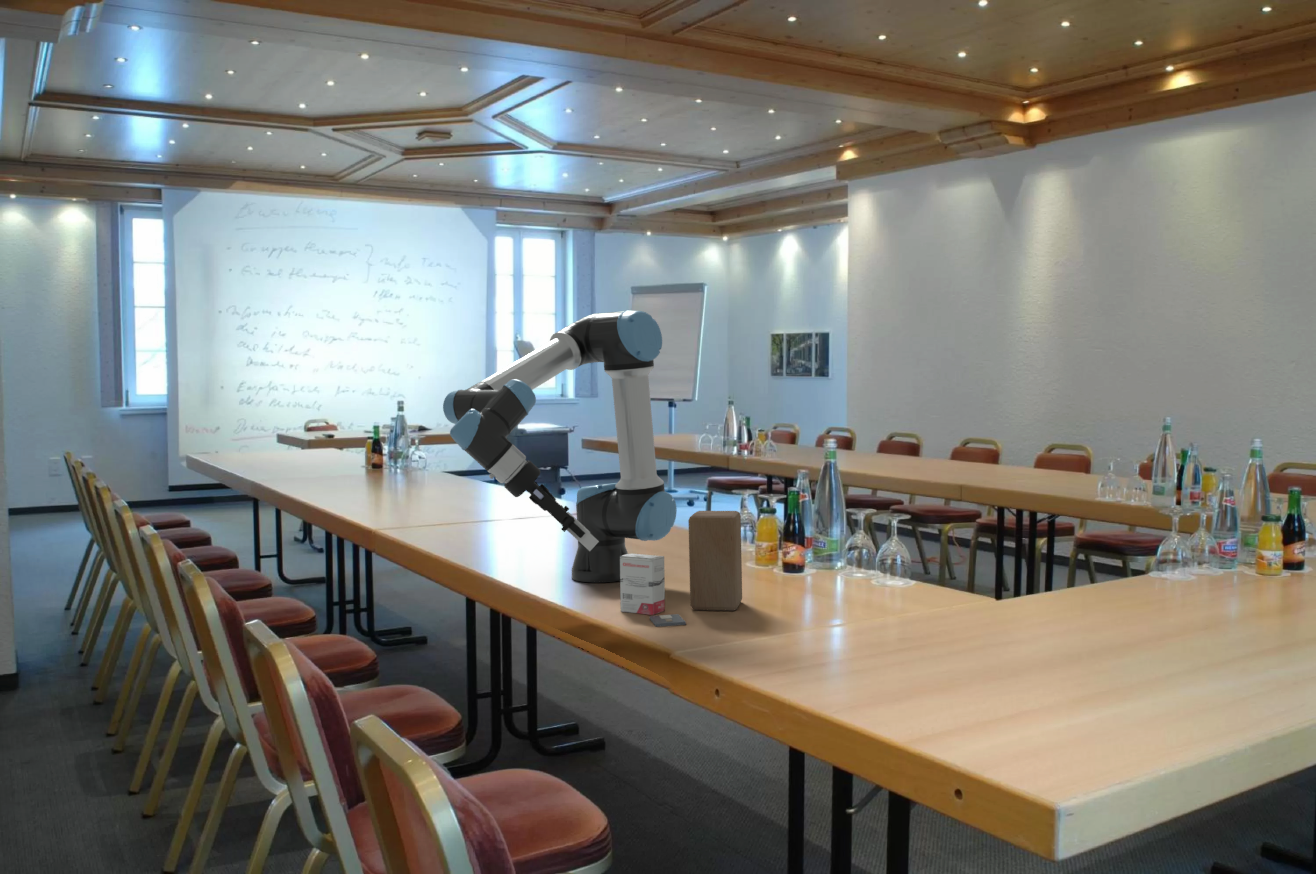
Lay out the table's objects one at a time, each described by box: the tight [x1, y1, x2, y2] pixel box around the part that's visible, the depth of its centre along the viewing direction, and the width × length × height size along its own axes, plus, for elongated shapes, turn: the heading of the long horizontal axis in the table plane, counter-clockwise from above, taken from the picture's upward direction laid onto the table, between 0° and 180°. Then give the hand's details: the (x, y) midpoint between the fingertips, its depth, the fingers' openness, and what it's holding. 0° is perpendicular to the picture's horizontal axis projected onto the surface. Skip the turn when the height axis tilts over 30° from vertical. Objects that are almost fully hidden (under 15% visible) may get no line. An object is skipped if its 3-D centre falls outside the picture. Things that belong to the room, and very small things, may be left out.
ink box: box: [619, 553, 666, 616], centre depth 223 cm, size 9×5×12 cm, turn 58°
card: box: [648, 613, 687, 628], centre depth 213 cm, size 7×6×1 cm
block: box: [687, 510, 743, 612], centre depth 226 cm, size 10×10×20 cm
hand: (590, 541), depth 220 cm, fingers open, 13 cm apart
